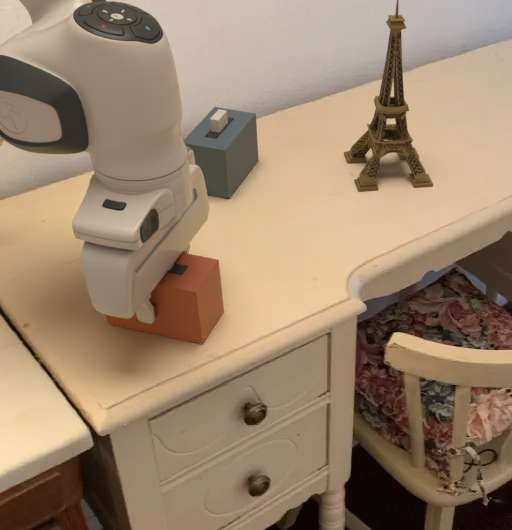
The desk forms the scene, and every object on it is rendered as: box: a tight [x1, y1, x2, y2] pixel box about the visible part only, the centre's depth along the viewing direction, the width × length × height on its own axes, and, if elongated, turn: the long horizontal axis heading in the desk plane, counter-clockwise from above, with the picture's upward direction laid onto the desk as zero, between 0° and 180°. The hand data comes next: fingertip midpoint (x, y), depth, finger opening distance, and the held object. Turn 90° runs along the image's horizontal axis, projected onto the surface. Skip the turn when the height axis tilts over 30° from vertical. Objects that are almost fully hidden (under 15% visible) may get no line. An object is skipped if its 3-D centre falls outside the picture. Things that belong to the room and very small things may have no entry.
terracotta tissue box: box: [106, 253, 225, 345], centre depth 89 cm, size 11×6×9 cm, turn 75°
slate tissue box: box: [183, 106, 259, 200], centre depth 112 cm, size 11×6×9 cm, turn 166°
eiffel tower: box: [343, 0, 434, 192], centre depth 109 cm, size 11×11×25 cm
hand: (163, 298), depth 90 cm, fingers closed on terracotta tissue box, 6 cm apart
